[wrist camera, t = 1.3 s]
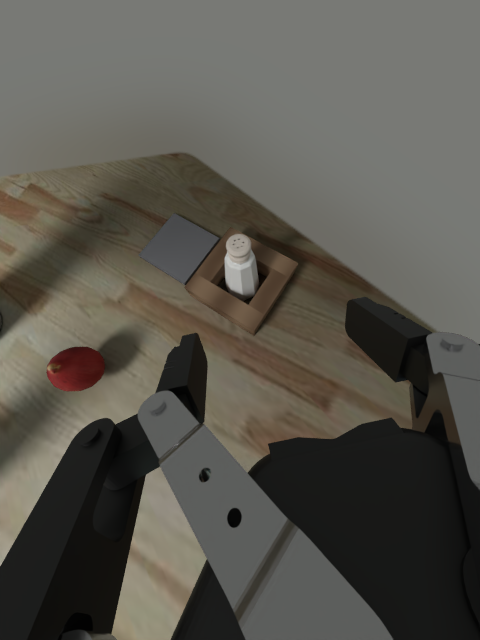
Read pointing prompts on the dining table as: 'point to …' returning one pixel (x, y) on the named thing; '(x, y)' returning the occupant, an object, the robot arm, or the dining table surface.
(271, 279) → the socket block
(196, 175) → the dining table surface
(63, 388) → the onion
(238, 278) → the pepper shaker
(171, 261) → the rubber pad
